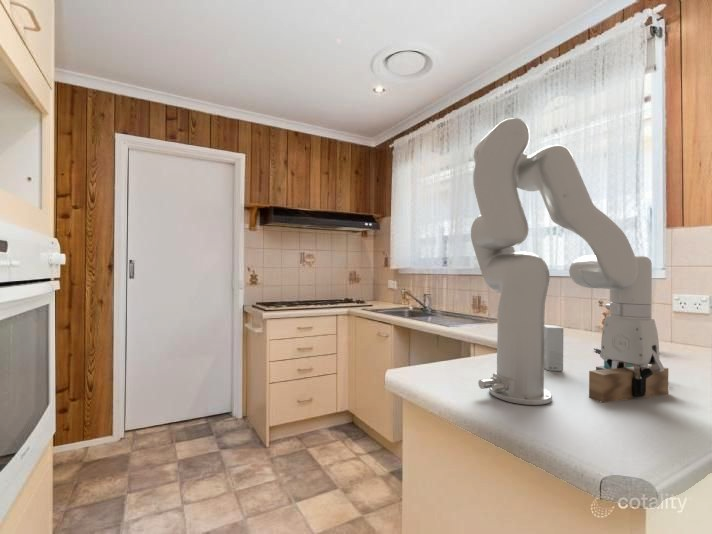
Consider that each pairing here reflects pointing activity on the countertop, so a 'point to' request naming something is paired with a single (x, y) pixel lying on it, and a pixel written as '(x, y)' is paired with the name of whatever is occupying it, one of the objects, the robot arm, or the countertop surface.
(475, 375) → the countertop surface
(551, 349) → the skincare box
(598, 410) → the countertop surface
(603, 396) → the walnut beam
